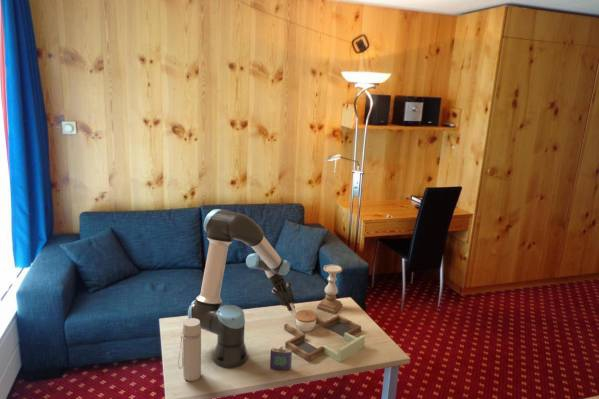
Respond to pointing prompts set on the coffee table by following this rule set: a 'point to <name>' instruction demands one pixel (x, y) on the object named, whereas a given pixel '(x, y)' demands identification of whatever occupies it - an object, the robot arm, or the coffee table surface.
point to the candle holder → (331, 291)
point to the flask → (280, 359)
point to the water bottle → (191, 349)
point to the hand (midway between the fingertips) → (295, 315)
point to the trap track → (311, 352)
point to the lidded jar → (305, 320)
